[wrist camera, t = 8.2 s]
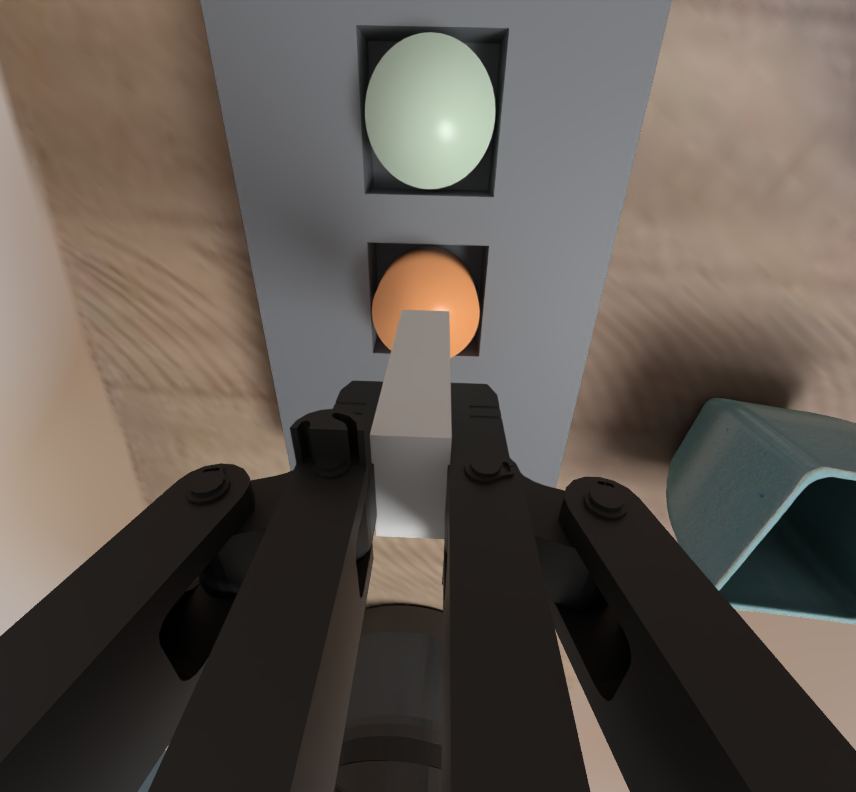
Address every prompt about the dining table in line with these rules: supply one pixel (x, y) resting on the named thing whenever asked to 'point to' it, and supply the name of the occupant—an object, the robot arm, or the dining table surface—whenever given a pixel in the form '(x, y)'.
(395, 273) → the orange button
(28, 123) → the dining table surface
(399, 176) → the sage button
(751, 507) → the flower pot
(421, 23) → the button panel
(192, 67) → the dining table surface
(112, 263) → the dining table surface
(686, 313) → the dining table surface
